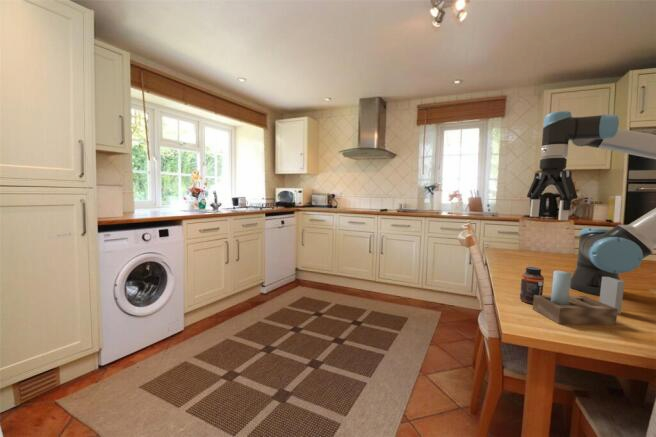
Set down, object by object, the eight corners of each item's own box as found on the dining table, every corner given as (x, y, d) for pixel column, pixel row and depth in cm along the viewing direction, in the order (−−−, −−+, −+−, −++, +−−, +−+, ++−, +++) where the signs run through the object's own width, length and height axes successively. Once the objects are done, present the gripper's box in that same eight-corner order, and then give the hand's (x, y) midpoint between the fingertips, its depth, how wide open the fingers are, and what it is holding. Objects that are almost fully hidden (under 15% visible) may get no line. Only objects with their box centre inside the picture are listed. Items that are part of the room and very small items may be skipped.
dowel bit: (559, 313, 88) (563, 270, 87) (570, 319, 84) (575, 274, 83) (546, 313, 88) (550, 270, 87) (556, 319, 84) (561, 274, 83)
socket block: (583, 310, 91) (585, 296, 91) (615, 324, 82) (617, 308, 81) (532, 309, 91) (533, 295, 91) (558, 323, 81) (560, 307, 81)
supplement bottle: (545, 306, 94) (548, 271, 93) (524, 304, 95) (527, 269, 94) (536, 299, 100) (539, 266, 99) (516, 297, 101) (519, 265, 100)
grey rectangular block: (604, 307, 94) (608, 276, 93) (620, 314, 89) (624, 281, 88) (598, 307, 94) (602, 276, 93) (614, 314, 89) (617, 281, 88)
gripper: (519, 161, 117) (514, 215, 119) (572, 153, 92) (566, 221, 94) (538, 161, 117) (533, 215, 119) (596, 154, 93) (589, 222, 95)
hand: (547, 218), depth 107 cm, fingers open, 13 cm apart
